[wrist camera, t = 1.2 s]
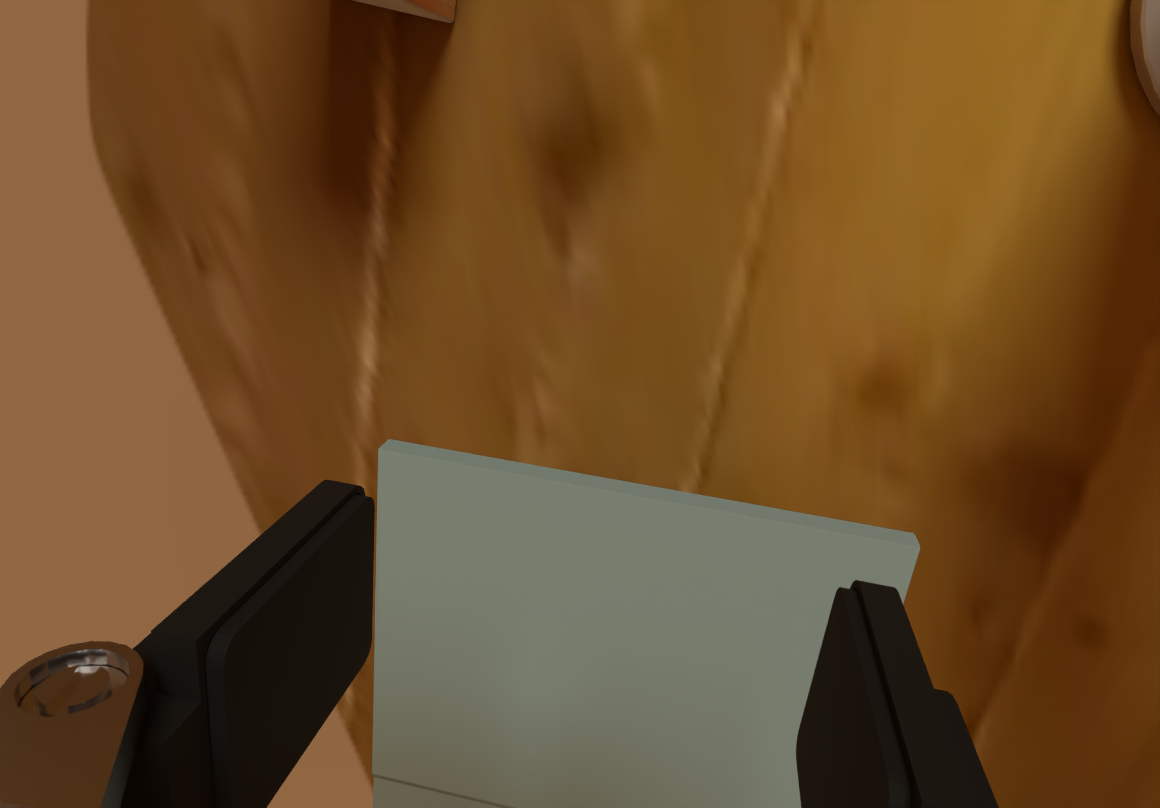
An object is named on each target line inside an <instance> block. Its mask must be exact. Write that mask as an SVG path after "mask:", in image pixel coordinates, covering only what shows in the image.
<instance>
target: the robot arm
mask: <svg viewBox="0 0 1160 808" xmlns="http://www.w3.org/2000/svg"><path fill="white" fill-rule="evenodd" d="M1130 45H1131V50H1132V54H1133V59H1134V63H1135V68H1136V72H1137V76H1138V79H1139V81H1140V83H1141V85H1142V87H1143V89H1144V92H1145V94H1146V96H1147V98H1148V100H1149V102H1150V104H1151V106H1152V108H1153V109H1154V110H1155V111H1156V112H1157V114H1158V115H1159V116H1160V0H1131V4H1130ZM374 511H375V507H374V501H373V499H372V498H371V497H367V496H365V492H364V489H363V488H362V487H361V486H358V485H353V484H348V483H342V482H337V481H332V480H324V481H323V482H321V483H320V484H319V485H318V486H317V487H316V488H314V489H313V490H312V491H311V492H310V493H309V494H307V495H306V496H305V497H304V498H303V499H302V500H301V501H299V502H298V503H297V504H296V505H295V506H294V507H293V508H291V509H290V510H289V511H288V512H287V513H286V514H285V515H283V516H282V517H281V518H280V519H279V520H278V521H277V522H275V523H274V524H273V525H272V526H271V527H270V528H268V529H267V530H266V531H265V532H264V533H263V534H262V535H260V536H259V537H258V538H257V539H256V540H255V541H254V542H252V543H251V544H250V545H249V546H248V547H247V548H246V549H245V550H243V551H242V552H241V553H240V554H239V555H238V556H236V557H235V558H234V559H233V560H232V561H231V562H230V563H228V564H227V565H226V566H225V567H224V568H223V569H221V570H220V571H219V572H218V573H217V574H216V575H215V576H214V577H212V578H211V579H210V580H209V581H208V582H207V583H205V584H204V585H203V586H202V587H201V588H200V589H199V590H197V591H196V592H195V593H194V594H193V595H192V596H190V597H189V598H188V599H187V600H186V601H185V602H184V603H182V604H181V605H180V606H179V607H178V608H177V609H176V610H174V611H173V612H172V613H171V614H170V615H169V616H168V617H166V618H165V619H164V620H163V621H162V622H161V623H160V624H158V626H156V627H155V628H154V629H153V630H152V631H151V634H149V635H148V636H147V637H146V638H145V639H144V640H142V641H141V642H140V643H139V644H138V645H137V646H136V647H134V648H133V649H132V648H130V647H128V646H127V645H123V644H118V643H114V642H110V641H105V642H104V641H103V642H102V641H89V642H84V643H78V644H71V645H67V646H64V647H61V648H58V649H55V650H52V651H49V652H46V653H44V654H42V655H41V656H38V657H36V658H34V659H32V660H30V661H28V662H27V663H25V664H24V665H23V666H21V667H20V668H19V669H17V670H16V671H15V672H14V673H12V674H11V675H10V676H9V678H8V679H7V680H6V681H5V683H4V684H3V685H2V686H1V688H0V808H267V806H268V805H269V803H270V801H271V800H272V799H273V797H274V796H275V794H276V793H277V791H278V790H279V788H280V787H281V785H282V784H283V782H284V781H285V779H286V778H287V776H288V775H289V774H290V772H291V771H292V769H293V768H294V766H295V765H296V763H297V762H298V760H299V759H300V757H301V756H302V755H303V753H304V751H305V750H306V749H307V747H308V746H309V744H310V743H311V741H312V740H313V738H314V737H315V735H316V734H317V732H318V731H319V729H320V728H321V727H322V725H323V724H324V722H325V721H326V719H327V718H328V716H329V715H330V713H331V712H332V710H333V709H334V707H335V706H336V704H337V703H338V702H339V700H340V699H341V697H342V696H343V694H344V693H345V691H346V690H347V688H348V687H349V685H350V684H351V682H352V681H353V679H354V678H355V676H356V675H357V674H358V672H359V671H360V669H361V668H362V666H363V665H364V663H365V661H366V659H367V657H368V654H369V651H370V647H371V642H372V610H373V560H374ZM796 763H797V773H798V782H799V791H800V800H801V808H999V807H998V805H997V802H996V800H995V797H994V795H993V792H992V790H991V787H990V785H989V782H988V780H987V777H986V775H985V772H984V770H983V767H982V765H981V762H980V760H979V757H978V755H977V752H976V750H975V747H974V745H973V742H972V740H971V737H970V735H969V732H968V730H967V727H966V725H965V722H964V719H963V717H962V714H961V712H960V709H959V707H958V704H957V702H956V701H955V699H954V697H953V695H952V694H950V693H949V692H947V691H942V690H937V689H934V688H933V685H932V682H931V680H930V677H929V674H928V671H927V669H926V666H925V663H924V660H923V658H922V655H921V652H920V650H919V647H918V644H917V641H916V639H915V636H914V633H913V630H912V628H911V625H910V622H909V620H908V617H907V614H906V611H905V609H904V606H903V603H902V600H901V598H900V595H899V592H898V590H897V589H896V588H895V587H891V586H885V585H880V584H875V583H870V582H864V581H859V580H855V581H853V583H852V585H851V587H850V589H848V588H842V587H839V588H838V589H837V591H836V594H835V597H834V600H833V604H832V608H831V611H830V615H829V619H828V623H827V626H826V630H825V634H824V637H823V641H822V645H821V649H820V652H819V656H818V660H817V663H816V667H815V671H814V675H813V678H812V682H811V686H810V689H809V693H808V697H807V701H806V704H805V708H804V712H803V716H802V719H801V723H800V727H799V731H798V735H797V742H796Z"/></svg>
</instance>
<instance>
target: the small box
mask: <svg viewBox="0 0 1160 808" xmlns="http://www.w3.org/2000/svg"><path fill="white" fill-rule="evenodd" d="M354 1H358V2H362V3H366V4H370V5H374V6H379V7H383V8H387V9H391V10H395V11H400V12H404V13H408V14H413V15H417V16H421V17H426V18H430V19H434V20H438V21H443V22H447V23H452V22H453V20H454V17H455V6H456V0H354Z"/></svg>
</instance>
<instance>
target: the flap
mask: <svg viewBox="0 0 1160 808" xmlns="http://www.w3.org/2000/svg"><path fill="white" fill-rule="evenodd" d="M919 551H920V545H919V542H918V540H917V538H916V536H915V534H914V533H911V532H905V531H899V530H894V529H888V528H883V527H877V526H871V525H866V524H860V523H855V522H849V521H844V520H838V519H832V518H827V517H821V516H816V515H810V514H804V513H799V512H793V511H788V510H782V509H777V508H771V507H765V506H760V505H754V504H749V503H743V502H737V501H732V500H726V499H721V498H715V497H709V496H704V495H698V494H693V493H687V492H682V491H676V490H670V489H665V488H659V487H654V486H648V485H642V484H637V483H631V482H626V481H620V480H615V479H609V478H603V477H598V476H592V475H587V474H581V473H575V472H570V471H564V470H559V469H553V468H548V467H542V466H536V465H531V464H525V463H520V462H514V461H508V460H503V459H497V458H492V457H486V456H480V455H475V454H469V453H464V452H458V451H453V450H447V449H441V448H436V447H430V446H425V445H419V444H413V443H408V442H402V441H397V440H391V439H389V440H388V441H386V442H385V443H384V444H383V445H382V446H381V447H380V448H379V449H378V496H377V548H376V599H375V651H374V702H373V754H372V776H373V777H374V788H373V808H801V800H800V791H799V782H798V773H797V763H796V742H797V735H798V731H799V727H800V723H801V719H802V716H803V712H804V708H805V704H806V701H807V697H808V693H809V689H810V686H811V682H812V678H813V675H814V671H815V667H816V663H817V660H818V656H819V652H820V649H821V645H822V641H823V637H824V634H825V630H826V626H827V623H828V619H829V615H830V611H831V608H832V604H833V600H834V597H835V594H836V591H837V589H838V588H839V587H842V588H848V589H850V587H851V585H852V583H853V581H855V580H859V581H864V582H870V583H875V584H880V585H885V586H891V587H895V588H896V589H897V590H898V592H899V595H900V598H901V600H902V603H904V600H905V597H906V593H907V590H908V587H909V584H910V580H911V577H912V574H913V570H914V567H915V564H916V561H917V557H918V554H919Z"/></svg>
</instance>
